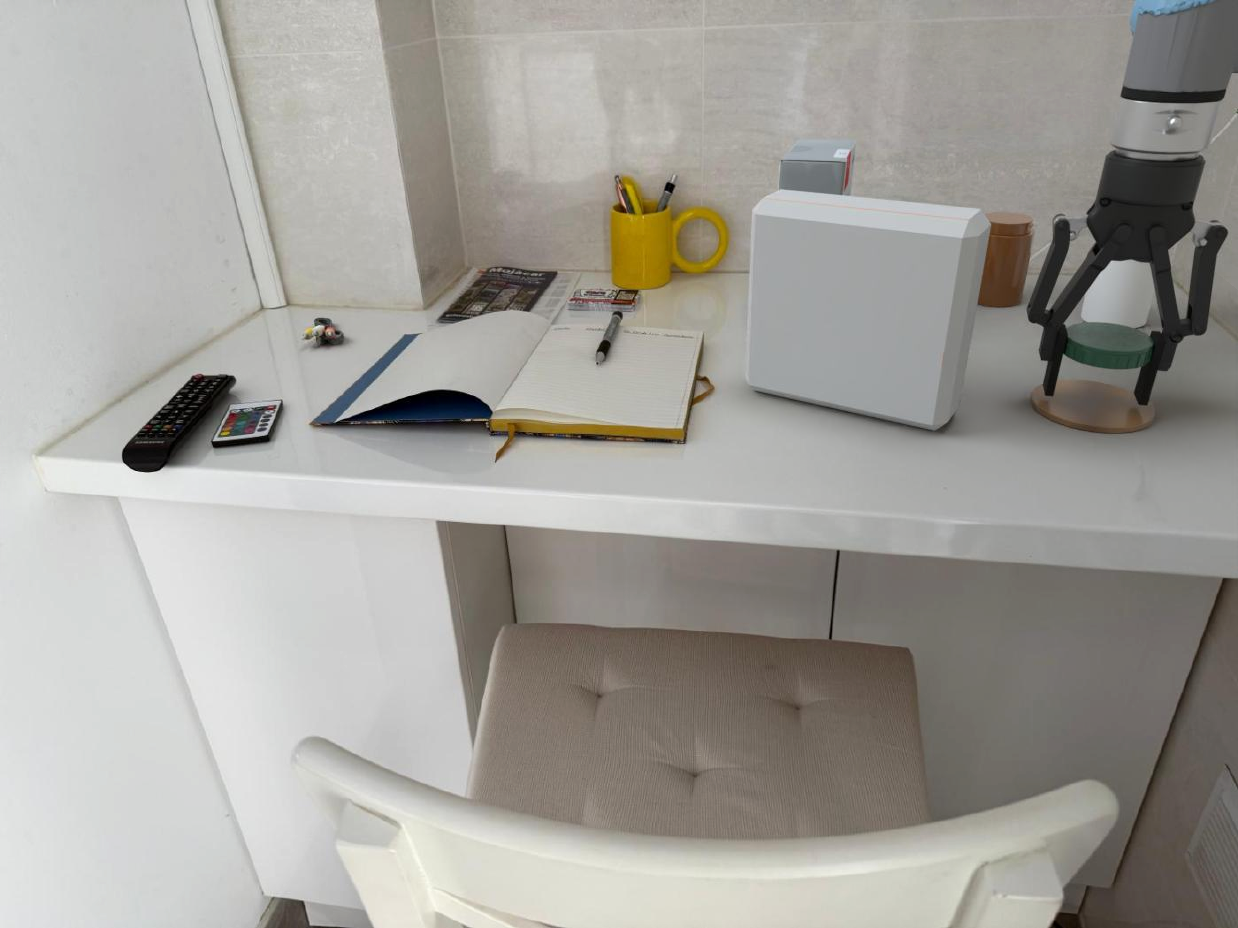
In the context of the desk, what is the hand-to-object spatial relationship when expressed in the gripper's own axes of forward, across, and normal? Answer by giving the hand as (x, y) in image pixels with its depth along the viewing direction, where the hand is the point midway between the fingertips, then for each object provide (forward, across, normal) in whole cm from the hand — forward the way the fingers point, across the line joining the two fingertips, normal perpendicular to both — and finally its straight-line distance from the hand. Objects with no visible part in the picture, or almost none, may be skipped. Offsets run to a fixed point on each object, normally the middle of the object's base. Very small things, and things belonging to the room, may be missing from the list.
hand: (1093, 394), depth 86 cm
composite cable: (+2, -88, -1) cm, 88 cm away
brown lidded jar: (+1, -8, +32) cm, 33 cm away
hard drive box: (+2, -31, +23) cm, 39 cm away
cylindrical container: (+2, +6, +27) cm, 28 cm away
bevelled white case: (+2, -23, -4) cm, 23 cm away
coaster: (+1, 0, 0) cm, 1 cm away
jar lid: (-6, 0, 0) cm, 6 cm away
